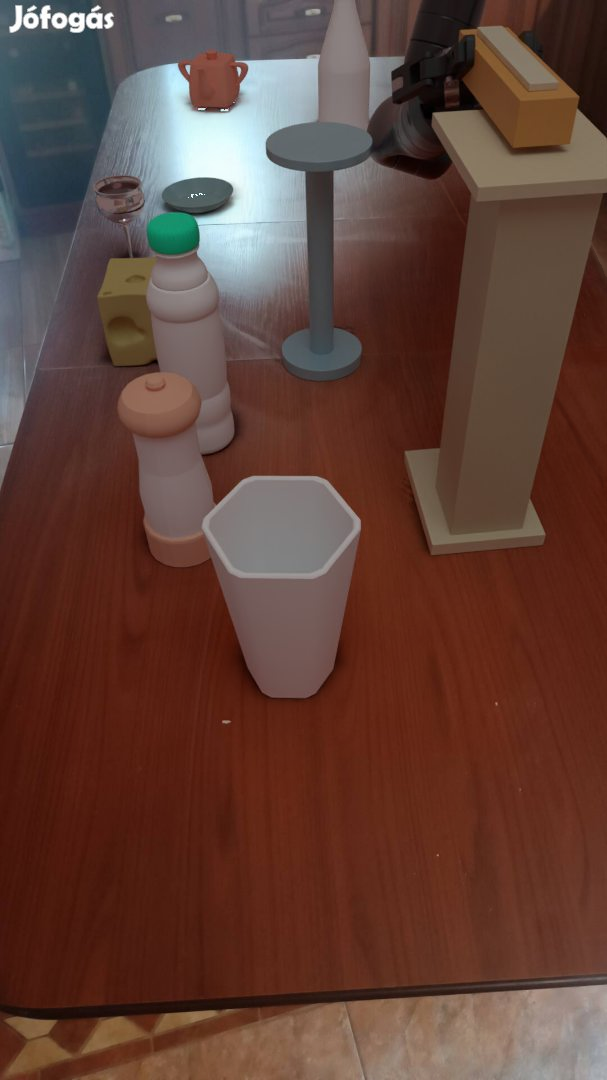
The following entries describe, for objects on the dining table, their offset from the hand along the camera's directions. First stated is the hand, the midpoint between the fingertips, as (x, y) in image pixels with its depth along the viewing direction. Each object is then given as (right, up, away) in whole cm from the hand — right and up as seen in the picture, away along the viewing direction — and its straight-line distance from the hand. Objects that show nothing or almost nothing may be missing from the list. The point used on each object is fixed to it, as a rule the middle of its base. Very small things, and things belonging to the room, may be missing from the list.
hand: (500, 47), depth 61 cm
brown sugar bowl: (-33, +53, +106) cm, 123 cm away
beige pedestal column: (+2, -34, +21) cm, 40 cm away
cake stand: (-13, -15, +40) cm, 44 cm away
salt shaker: (-27, -38, +18) cm, 50 cm away
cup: (-16, -48, +8) cm, 52 cm away
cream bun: (0, -5, 0) cm, 5 cm away
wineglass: (-40, +3, +58) cm, 71 cm away
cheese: (-34, -12, +43) cm, 56 cm away
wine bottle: (-7, +41, +93) cm, 102 cm away
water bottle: (-26, -26, +30) cm, 47 cm away
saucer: (-32, +18, +72) cm, 81 cm away
